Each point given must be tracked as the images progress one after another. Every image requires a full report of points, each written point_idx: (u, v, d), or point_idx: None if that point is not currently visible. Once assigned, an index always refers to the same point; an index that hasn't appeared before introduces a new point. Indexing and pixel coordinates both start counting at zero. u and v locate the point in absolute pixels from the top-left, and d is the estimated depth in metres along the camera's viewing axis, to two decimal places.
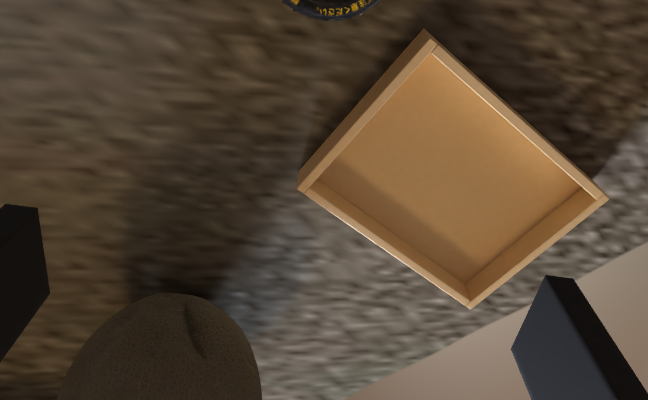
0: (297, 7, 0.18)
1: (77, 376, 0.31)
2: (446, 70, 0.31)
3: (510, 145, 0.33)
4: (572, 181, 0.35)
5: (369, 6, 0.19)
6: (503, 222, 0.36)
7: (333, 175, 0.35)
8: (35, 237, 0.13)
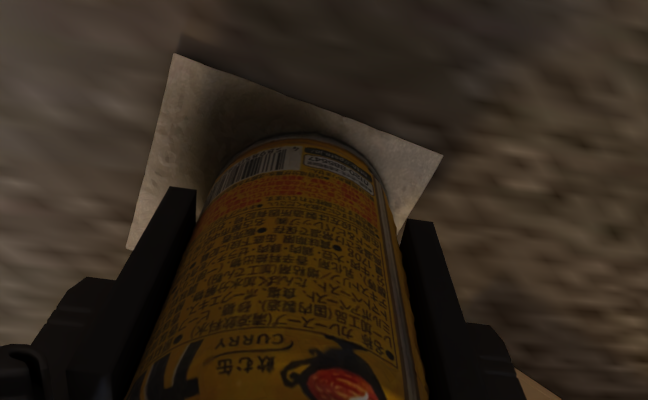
0: None
1: None
2: None
3: None
4: None
5: None
6: None
7: None
8: (193, 215, 0.14)
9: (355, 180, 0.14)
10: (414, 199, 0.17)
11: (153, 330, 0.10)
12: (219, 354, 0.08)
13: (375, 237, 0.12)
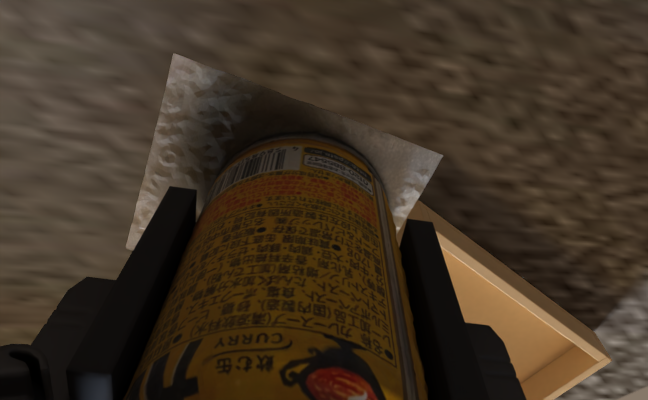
0: None
1: None
2: None
3: (508, 304, 0.32)
4: None
5: None
6: None
7: None
8: (193, 215, 0.14)
9: (355, 179, 0.14)
10: (413, 199, 0.17)
11: (153, 329, 0.10)
12: (218, 352, 0.08)
13: (374, 237, 0.12)
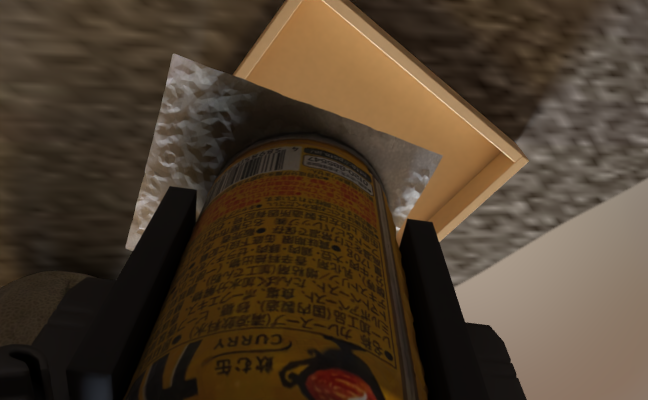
0: None
1: None
2: (339, 15, 0.28)
3: (419, 102, 0.30)
4: (492, 143, 0.31)
5: None
6: None
7: None
8: (193, 215, 0.14)
9: (355, 180, 0.14)
10: (413, 200, 0.17)
11: (152, 330, 0.10)
12: (218, 354, 0.08)
13: (375, 237, 0.12)
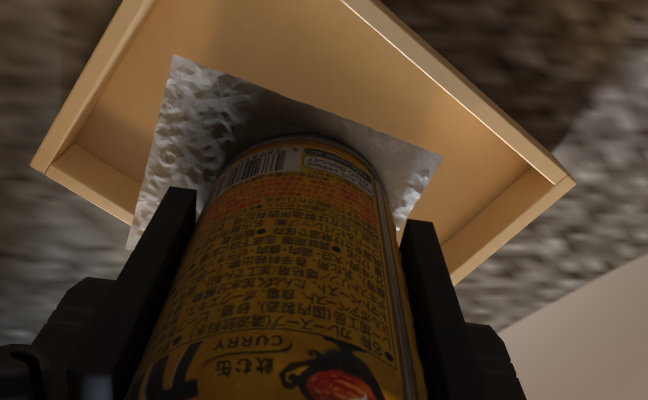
0: None
1: None
2: None
3: (406, 91, 0.19)
4: (517, 154, 0.21)
5: None
6: None
7: (113, 144, 0.21)
8: (194, 215, 0.14)
9: (355, 181, 0.14)
10: (413, 200, 0.17)
11: (152, 331, 0.10)
12: (218, 355, 0.08)
13: (375, 238, 0.12)
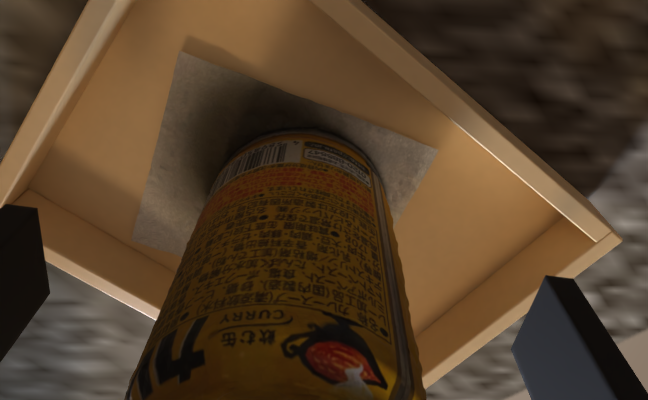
0: None
1: None
2: None
3: (419, 130, 0.16)
4: (548, 202, 0.18)
5: None
6: (420, 278, 0.19)
7: (75, 190, 0.17)
8: (35, 237, 0.13)
9: (353, 172, 0.15)
10: (410, 193, 0.17)
11: (160, 311, 0.11)
12: (223, 328, 0.09)
13: (371, 226, 0.13)
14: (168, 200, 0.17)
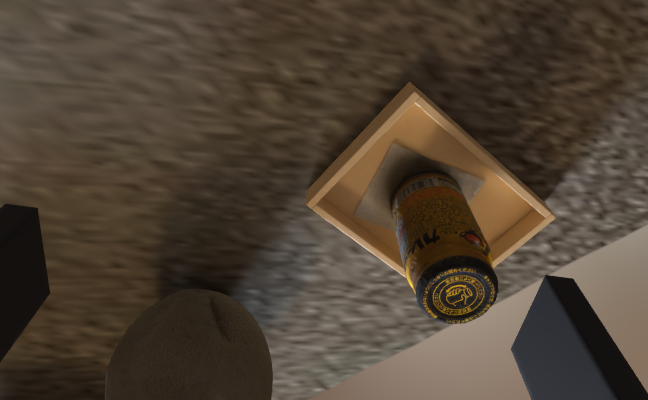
0: (435, 319, 0.34)
1: (127, 354, 0.39)
2: (427, 114, 0.39)
3: (478, 173, 0.42)
4: (528, 202, 0.43)
5: None
6: None
7: (335, 194, 0.43)
8: (35, 237, 0.13)
9: (457, 189, 0.40)
10: (472, 197, 0.42)
11: (409, 231, 0.36)
12: (443, 230, 0.34)
13: (468, 208, 0.38)
14: (373, 199, 0.43)
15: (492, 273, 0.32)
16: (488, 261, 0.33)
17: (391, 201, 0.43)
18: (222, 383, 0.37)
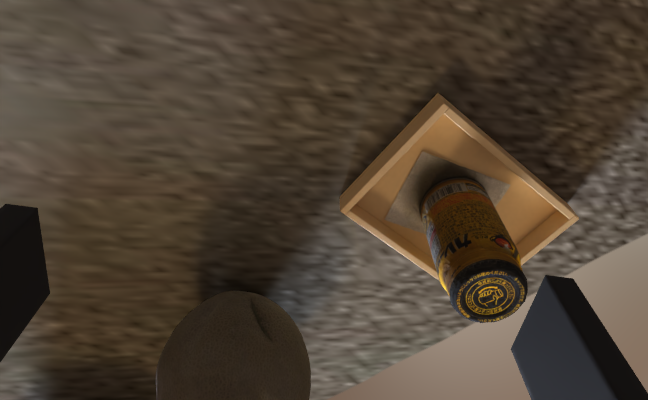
0: (468, 318, 0.36)
1: (176, 353, 0.41)
2: (455, 123, 0.41)
3: (503, 177, 0.44)
4: (551, 204, 0.45)
5: (505, 317, 0.36)
6: None
7: (367, 199, 0.45)
8: (35, 237, 0.13)
9: (484, 194, 0.42)
10: (498, 200, 0.45)
11: (441, 236, 0.38)
12: (474, 235, 0.36)
13: (496, 212, 0.40)
14: (403, 203, 0.45)
15: (522, 275, 0.34)
16: (517, 263, 0.35)
17: (420, 205, 0.45)
18: (266, 380, 0.40)
